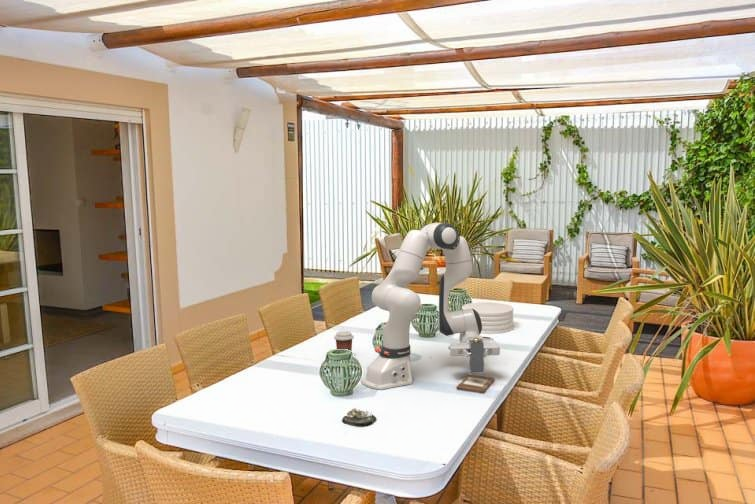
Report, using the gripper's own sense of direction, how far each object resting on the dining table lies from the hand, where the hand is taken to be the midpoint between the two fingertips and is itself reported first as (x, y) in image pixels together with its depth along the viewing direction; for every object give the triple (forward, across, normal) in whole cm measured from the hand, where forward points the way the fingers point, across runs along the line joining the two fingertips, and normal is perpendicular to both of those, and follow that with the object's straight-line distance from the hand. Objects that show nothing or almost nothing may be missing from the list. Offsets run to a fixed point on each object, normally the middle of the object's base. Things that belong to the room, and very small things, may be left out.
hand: (476, 355), depth 237 cm
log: (+34, -45, +12) cm, 58 cm away
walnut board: (-1, 0, +12) cm, 13 cm away
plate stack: (-93, +18, +14) cm, 95 cm away
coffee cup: (-38, -57, +12) cm, 69 cm away
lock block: (-1, 0, +6) cm, 7 cm away
